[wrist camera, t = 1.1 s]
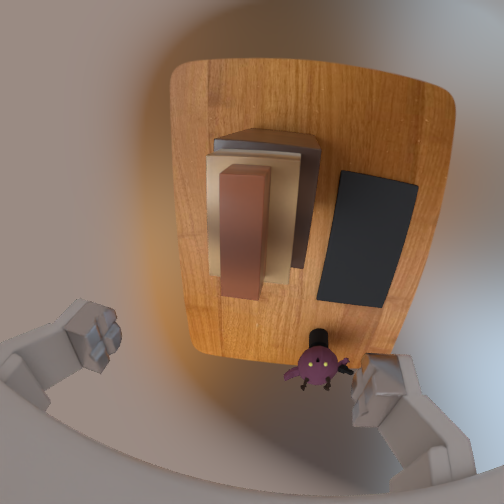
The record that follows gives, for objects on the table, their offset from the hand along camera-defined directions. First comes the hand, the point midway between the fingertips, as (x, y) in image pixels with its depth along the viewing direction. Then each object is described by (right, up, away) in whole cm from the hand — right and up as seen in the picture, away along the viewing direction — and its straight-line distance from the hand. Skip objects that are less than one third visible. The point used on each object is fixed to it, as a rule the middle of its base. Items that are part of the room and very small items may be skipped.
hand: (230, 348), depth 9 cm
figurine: (+12, -11, +40) cm, 43 cm away
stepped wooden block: (+1, +6, +14) cm, 15 cm away
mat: (+17, +4, +30) cm, 35 cm away
